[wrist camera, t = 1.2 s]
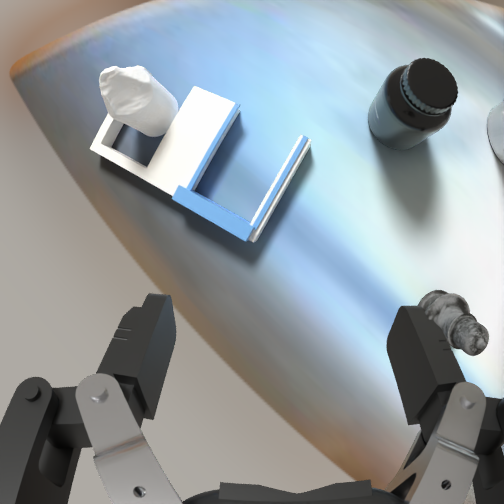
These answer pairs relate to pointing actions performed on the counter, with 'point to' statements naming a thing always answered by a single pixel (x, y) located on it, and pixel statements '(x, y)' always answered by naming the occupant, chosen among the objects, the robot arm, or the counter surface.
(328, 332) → the counter surface
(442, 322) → the dark grey turned piece
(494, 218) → the counter surface
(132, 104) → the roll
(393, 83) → the supplement bottle
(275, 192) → the white rail frame
